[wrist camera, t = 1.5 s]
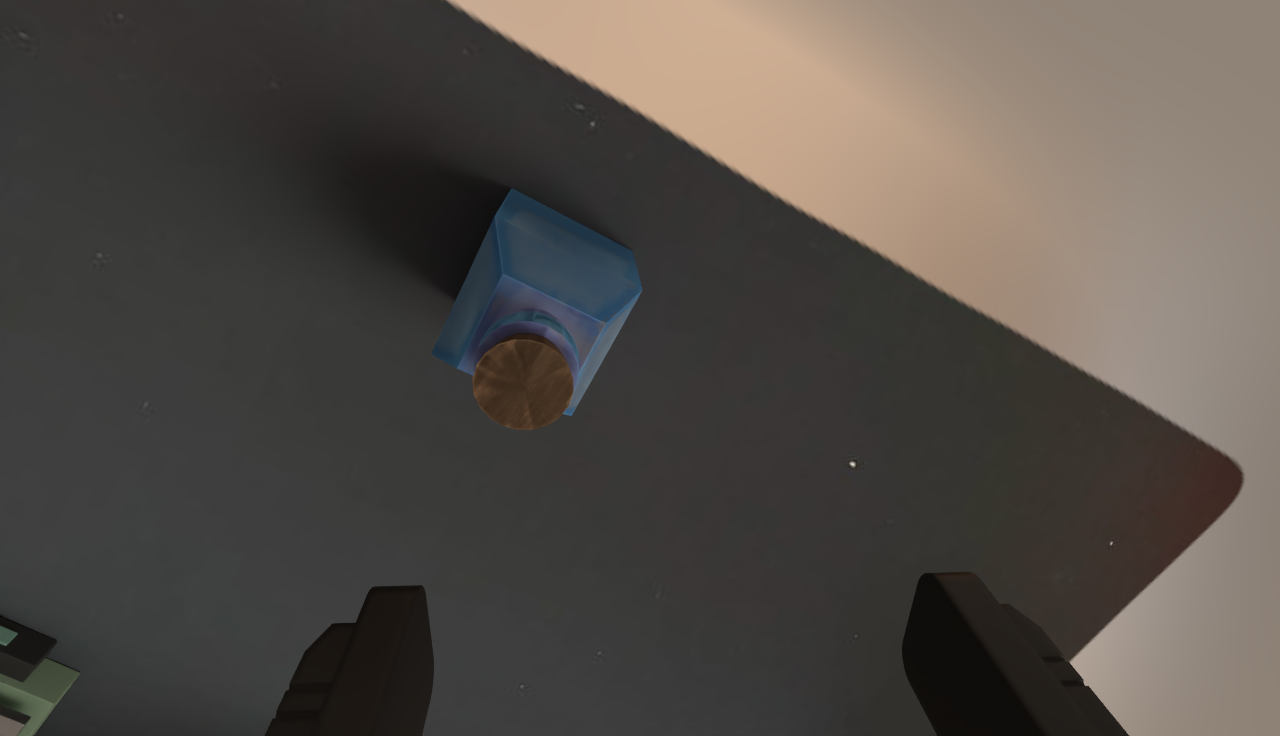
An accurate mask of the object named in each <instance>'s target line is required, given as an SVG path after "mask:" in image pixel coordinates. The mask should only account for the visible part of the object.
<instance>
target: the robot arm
mask: <svg viewBox="0 0 1280 736" xmlns="http://www.w3.org/2000/svg"><path fill="white" fill-rule="evenodd" d="M902 656H903V663H904V668H905V672H906V675H907V678H908V680H909V683H910V685H911V687H912V688H913V690H914V692H915V694H916V696H917V698H918V700H919V702H920V704H921V705H922V707H923V709H924V711H925V713H926V715H927V717H928V719H929V721H930V722H931V724H932V726H933V728H934V730H935V732H936V734H937V736H1129V735H1128V734H1127V733H1126V731H1125V730H1124V729H1123V728H1122V727H1121V725H1120V724H1119V723H1118V722H1117V721H1116V719H1115V718H1114V717H1113V715H1112V714H1111V713H1110V712H1109V710H1108V709H1107V708H1106V707H1105V706H1104V704H1103V703H1102V702H1101V701H1100V699H1099V698H1098V697H1097V696H1096V695H1095V693H1094V692H1093V691H1092V690H1091V688H1090V687H1089V686H1085V685H1084V683H1083V679H1082V677H1081V676H1080V675H1079V674H1078V673H1077V671H1076V670H1075V669H1074V668H1073V666H1072V665H1071V664H1070V663H1069V662H1065V660H1064V655H1063V654H1062V653H1061V652H1060V650H1059V649H1058V648H1057V647H1056V646H1055V644H1054V643H1053V642H1052V641H1051V639H1050V638H1049V637H1048V636H1047V635H1046V633H1045V632H1044V631H1043V630H1042V628H1041V627H1039V626H1038V625H1037V624H1035V623H1034V622H1033V621H1031V620H1030V619H1029V618H1027V617H1026V616H1024V615H1023V614H1022V613H1020V612H1019V611H1018V610H1016V609H1015V608H1014V607H1012V606H1011V605H1010V604H999V603H998V601H997V600H996V599H995V598H994V596H993V595H992V594H991V592H990V591H989V590H988V589H987V587H986V586H985V585H984V583H983V582H982V581H981V580H980V578H979V577H978V576H976V575H975V574H973V573H971V572H949V573H925V574H923V575H922V576H921V577H920V579H919V581H918V584H917V588H916V592H915V596H914V600H913V604H912V608H911V611H910V615H909V619H908V623H907V627H906V631H905V635H904V639H903V645H902ZM433 676H434V657H433V649H432V641H431V633H430V624H429V616H428V608H427V600H426V593H425V589H424V587H423V586H422V585H415V586H378V587H372V588H371V589H370V591H369V592H368V594H367V597H366V599H365V601H364V604H363V606H362V609H361V611H360V614H359V616H358V618H357V621H356V623H335V624H332V625H331V626H330V627H329V628H328V629H327V630H326V631H325V632H324V633H323V634H322V635H321V636H320V637H319V638H318V639H317V640H316V641H315V642H314V643H313V644H312V645H311V646H310V647H309V648H308V649H307V650H306V651H305V653H304V655H303V657H302V659H301V661H300V663H299V665H298V667H297V669H296V671H295V673H294V676H293V678H292V680H291V682H290V687H289V690H288V691H286V692H285V694H284V696H283V699H282V701H281V703H280V705H279V707H278V709H277V711H276V712H277V714H276V718H274V719H273V720H272V722H271V724H270V726H269V728H268V730H267V732H266V734H265V736H422V733H423V729H424V724H425V720H426V716H427V712H428V708H429V704H430V699H431V694H432V687H433Z"/></svg>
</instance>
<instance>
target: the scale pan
mask: <svg viewBox="0 0 1280 736" xmlns="http://www.w3.org/2000/svg"><path fill="white" fill-rule="evenodd" d="M30 719H31V716H29V715H27V714H24V713H22V712H19V711H17V710H14V709H12V708H9V707H7V706H4V705H2V704H0V736H18V735H19V734H20V732H21V731H22V729H23V728H24V727H25V725H26V724H27V723H28V721H29V720H30Z"/></svg>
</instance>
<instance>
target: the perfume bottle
mask: <svg viewBox="0 0 1280 736" xmlns="http://www.w3.org/2000/svg"><path fill="white" fill-rule="evenodd" d="M641 292H642V287H641V283H640V279H639V275H638V271H637V267H636V263H635V259H634V256H633V252H632V250H630V249H628V248H626V247H624V246H622V245H620V244H618V243H616V242H614V241H612V240H610V239H609V238H607V237H605V236H603V235H601V234H599V233H597V232H595V231H593V230H591V229H589V228H587V227H586V226H584V225H582V224H580V223H578V222H576V221H574V220H572V219H570V218H568V217H566V216H564V215H563V214H561V213H559V212H557V211H555V210H553V209H551V208H549V207H547V206H545V205H543V204H541V203H540V202H538V201H536V200H534V199H532V198H530V197H528V196H526V195H524V194H522V193H520V192H518V191H517V190H515V189H513V188H511V190H510V192H509V193H508V195H507V197H506V198H505V200H504V202H503V203H502V205H501V206H500V208H499V210H498V211H497V213H496V215H495V217H494V219H493V221H492V223H491V225H490V227H489V230H488V232H487V234H486V236H485V238H484V240H483V243H482V245H481V247H480V249H479V251H478V253H477V256H476V258H475V260H474V262H473V264H472V266H471V269H470V271H469V273H468V275H467V277H466V279H465V282H464V284H463V286H462V288H461V290H460V292H459V295H458V297H457V299H456V301H455V303H454V305H453V308H452V310H451V312H450V314H449V316H448V318H447V321H446V323H445V325H444V327H443V329H442V331H441V334H440V336H439V338H438V340H437V342H436V344H435V347H434V349H433V351H432V353H431V354H432V355H433V356H435V357H437V358H439V359H441V360H443V361H444V362H446V363H448V364H450V365H452V366H454V367H456V368H457V369H460V370H462V371H464V372H467V373H469V374H471V375H473V392H474V395H475V398H476V400H477V402H478V404H479V407H480V408H481V409H482V410H483V411H484V412H485V413H486V414H487V415H488V416H489V418H491V419H493V420H494V421H496V422H498V423H499V424H501V425H503V426H506V427H510V428H514V429H517V430H527V429H536V428H540V427H543V426H547V425H549V424H550V423H552V422H553V421H555V420H556V419H558V418H559V417H560V416H561V415H562V414H566V415H570V416H572V414H573V412H574V411H575V409H576V407H577V405H578V403H579V402H580V400H581V398H582V396H583V395H584V393H585V391H586V389H587V387H588V386H589V384H590V382H591V380H592V379H593V377H594V375H595V373H596V372H597V370H598V368H599V366H600V364H601V363H602V361H603V359H604V357H605V356H606V354H607V352H608V350H609V348H610V347H611V345H612V343H613V341H614V340H615V338H616V336H617V334H618V333H619V331H620V329H621V327H622V325H623V324H624V322H625V320H626V318H627V317H628V315H629V313H630V311H631V310H632V308H633V306H634V304H635V302H636V301H637V299H638V297H639V295H640V294H641Z"/></svg>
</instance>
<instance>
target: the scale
mask: <svg viewBox="0 0 1280 736" xmlns="http://www.w3.org/2000/svg"><path fill="white" fill-rule="evenodd" d="M56 643H57V641H55V640H53V639H51V638H49V637H46V636H44V635H42V634H39V633H37V632H35V631H33V630H30V629H28V628H26V627H23V626H21V625H19V624H16V623H14V622H12V621H10V620H7V619H5V618H3V617H0V704H2V705H4V706H7V707H9V708H12V709H14V710H17V711H19V712H22V713H24V714H27V715H29V716H31V719H30V720H29V721H28V723H27V724H26V725H25V727H24V728H23V729H22V731H21V732H20V734H19V735H18V736H34V734H35V733H36V732H37V730H38V729H39V728H40V726H41V725H42V724H43V722H44V721H45V720H46V718H47V717H48V716H49V714H50V713H51V712H52V710H53V709H54V708H55V706H56V705H57V704H58V702H59V701H60V700H61V698H62V697H63V696H64V694H65V693H66V692H67V690H68V689H69V688H70V686H71V685H72V684H73V682H74V681H75V680H76V678H77V677H78V676H79V674H80V672H77V671H75V670H73V669H70V668H68V667H66V666H63V665H61V664H59V663H56V662H54V661H52V660H49V659H47V658H46V657H47V655H48V654H49V652H50V651H51V650H52V648H53V647H54V645H55V644H56Z"/></svg>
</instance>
